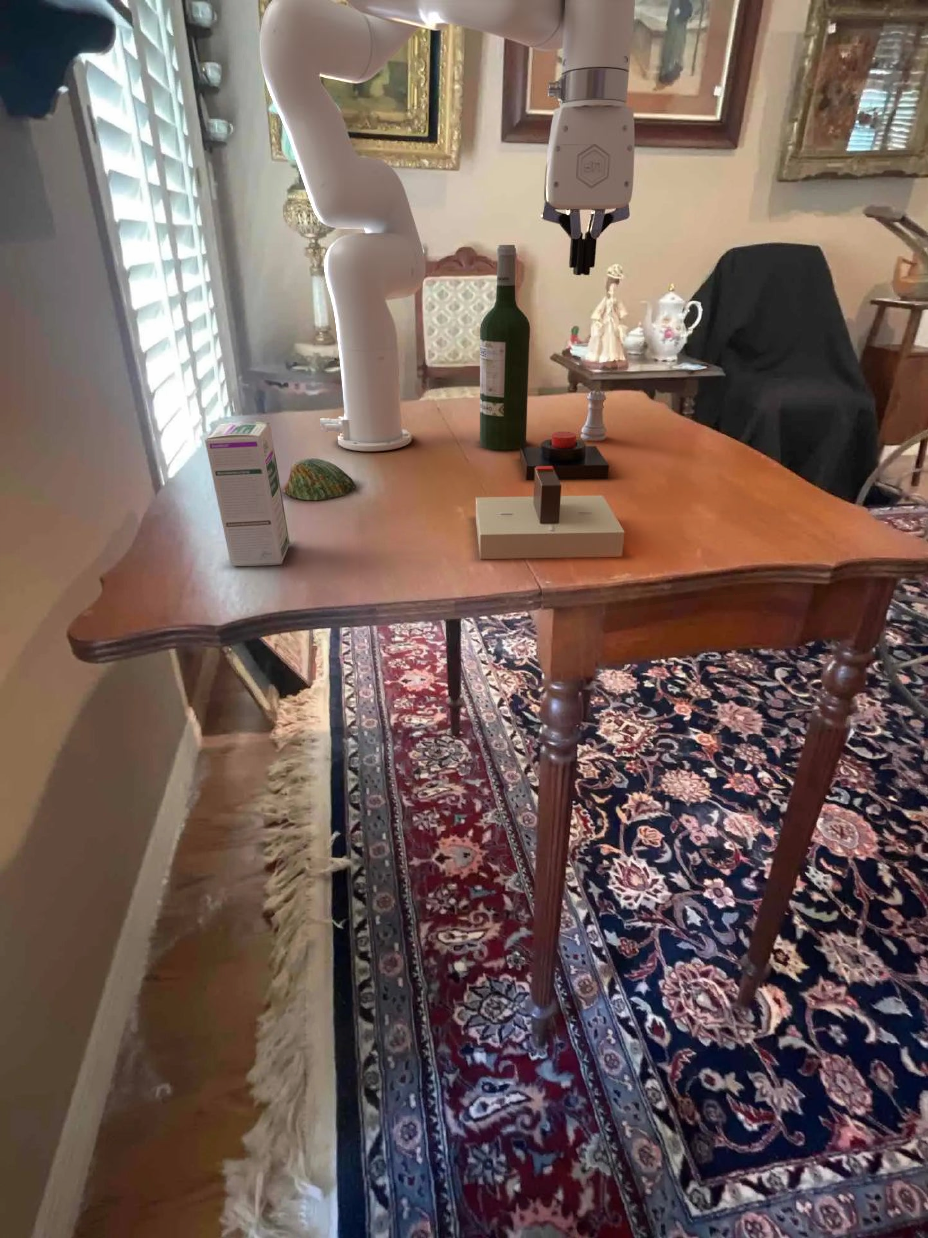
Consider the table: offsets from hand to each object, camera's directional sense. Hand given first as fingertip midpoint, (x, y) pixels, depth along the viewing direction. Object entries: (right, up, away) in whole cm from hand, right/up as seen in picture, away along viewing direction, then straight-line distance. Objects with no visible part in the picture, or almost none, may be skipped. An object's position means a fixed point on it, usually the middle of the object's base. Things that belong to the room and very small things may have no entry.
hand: (581, 274), depth 88 cm
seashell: (-36, -25, +11) cm, 45 cm away
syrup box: (-38, -37, -9) cm, 54 cm away
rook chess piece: (+8, -13, +33) cm, 36 cm away
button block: (0, -21, +18) cm, 28 cm away
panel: (-5, -34, -5) cm, 35 cm away
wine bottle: (-8, -14, +30) cm, 34 cm away
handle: (-5, -31, -6) cm, 32 cm away
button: (0, -18, +16) cm, 24 cm away
